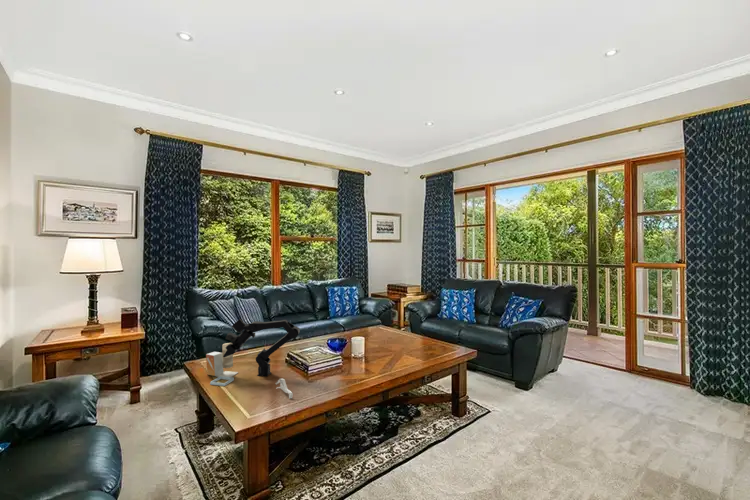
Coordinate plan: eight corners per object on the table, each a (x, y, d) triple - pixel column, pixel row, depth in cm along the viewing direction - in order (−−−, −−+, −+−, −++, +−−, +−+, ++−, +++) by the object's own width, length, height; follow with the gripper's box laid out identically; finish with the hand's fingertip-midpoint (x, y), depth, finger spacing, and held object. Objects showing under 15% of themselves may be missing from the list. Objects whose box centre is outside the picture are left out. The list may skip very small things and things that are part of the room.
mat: (238, 373, 226) (238, 372, 226) (229, 378, 218) (229, 377, 218) (225, 371, 228) (225, 371, 228) (216, 377, 219) (216, 376, 219)
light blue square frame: (234, 380, 215) (234, 377, 215) (224, 386, 206) (224, 383, 206) (220, 378, 217) (220, 376, 217) (210, 384, 207) (210, 382, 207)
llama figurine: (277, 400, 201) (290, 398, 188) (274, 380, 205) (287, 376, 191) (280, 400, 202) (293, 398, 189) (277, 379, 206) (290, 376, 193)
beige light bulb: (234, 366, 223) (234, 344, 223) (225, 368, 219) (225, 346, 218) (230, 364, 227) (229, 342, 227) (220, 366, 223) (220, 344, 222)
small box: (206, 374, 223) (205, 354, 223) (215, 371, 228) (214, 351, 228) (214, 376, 219) (213, 355, 219) (224, 373, 224) (222, 352, 224)
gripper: (238, 325, 232) (221, 342, 232) (229, 332, 214) (210, 350, 213) (251, 337, 233) (233, 354, 232) (242, 345, 214) (223, 363, 214)
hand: (225, 355), depth 223 cm, fingers closed on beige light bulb, 6 cm apart
